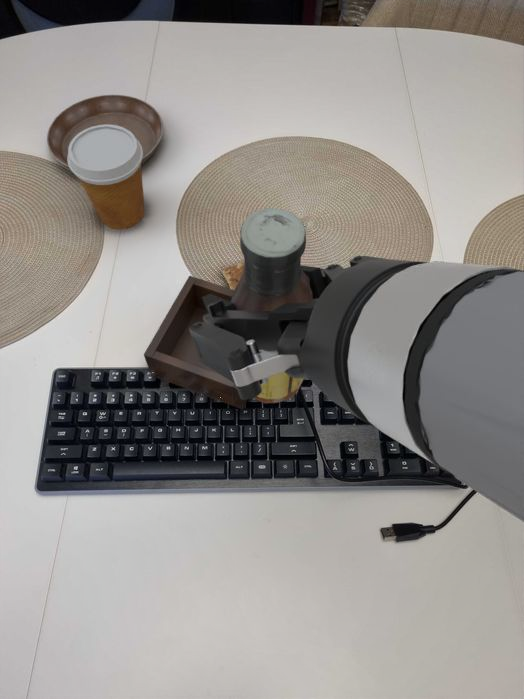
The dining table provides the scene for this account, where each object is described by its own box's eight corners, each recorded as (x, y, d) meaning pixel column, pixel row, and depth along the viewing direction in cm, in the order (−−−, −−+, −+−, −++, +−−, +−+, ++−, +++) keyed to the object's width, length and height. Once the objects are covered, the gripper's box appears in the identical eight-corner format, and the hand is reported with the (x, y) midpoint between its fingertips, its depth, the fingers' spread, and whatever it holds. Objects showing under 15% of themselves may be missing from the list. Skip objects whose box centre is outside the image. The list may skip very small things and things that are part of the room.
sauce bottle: (282, 337, 52) (299, 176, 35) (316, 389, 49) (353, 242, 32) (221, 366, 50) (208, 211, 33) (253, 420, 48) (257, 283, 31)
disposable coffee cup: (169, 215, 78) (156, 147, 68) (116, 250, 75) (93, 185, 65) (129, 181, 82) (110, 112, 71) (76, 214, 78) (49, 145, 68)
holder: (279, 330, 69) (281, 305, 64) (243, 411, 63) (242, 390, 58) (193, 301, 71) (189, 275, 66) (151, 377, 65) (143, 354, 61)
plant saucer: (43, 187, 81) (36, 171, 78) (61, 110, 90) (55, 94, 87) (162, 185, 81) (159, 169, 79) (168, 109, 90) (166, 93, 88)
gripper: (245, 528, 22) (157, 383, 43) (599, 344, 26) (361, 295, 48) (178, 362, 19) (120, 295, 41) (577, 191, 24) (338, 211, 45)
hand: (250, 295), depth 44 cm, fingers closed on sauce bottle, 6 cm apart
